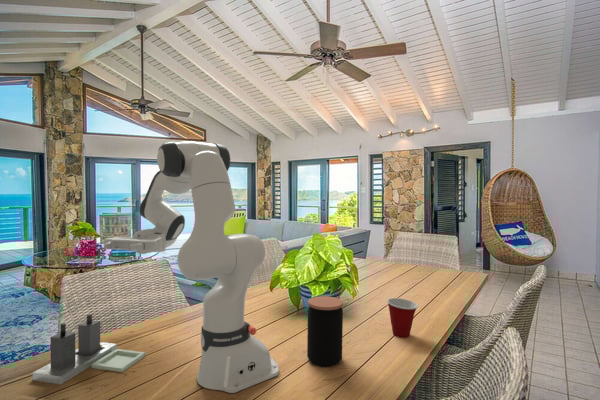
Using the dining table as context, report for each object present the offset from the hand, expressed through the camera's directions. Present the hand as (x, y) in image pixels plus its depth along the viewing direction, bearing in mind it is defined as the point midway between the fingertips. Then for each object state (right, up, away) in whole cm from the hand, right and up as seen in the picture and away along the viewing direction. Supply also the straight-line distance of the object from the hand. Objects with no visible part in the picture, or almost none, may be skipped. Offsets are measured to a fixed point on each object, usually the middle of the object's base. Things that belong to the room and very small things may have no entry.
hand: (117, 247), depth 117 cm
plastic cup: (+97, -33, +10) cm, 103 cm away
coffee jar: (+68, -33, -10) cm, 76 cm away
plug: (-3, -32, -11) cm, 34 cm away
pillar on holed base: (-4, -32, -15) cm, 36 cm away
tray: (+7, -32, -13) cm, 36 cm away
